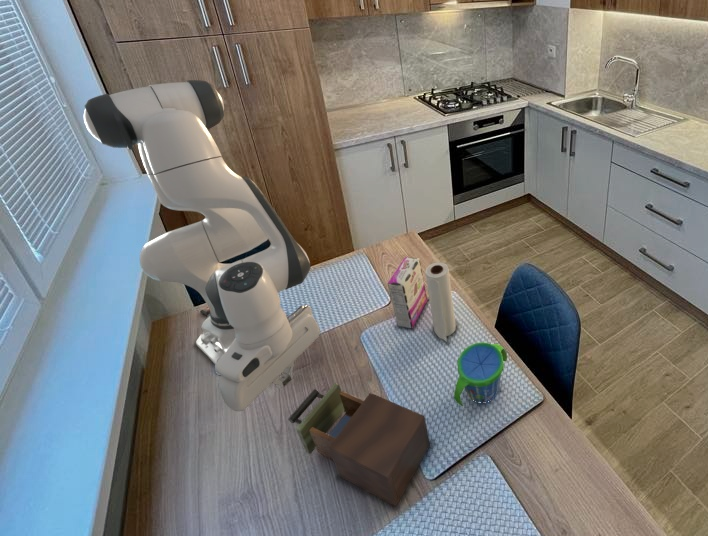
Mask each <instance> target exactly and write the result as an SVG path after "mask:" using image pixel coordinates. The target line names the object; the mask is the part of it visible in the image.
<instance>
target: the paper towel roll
mask: <svg viewBox="0 0 708 536" xmlns="http://www.w3.org/2000/svg"><path fill="white" fill-rule="evenodd" d="M424 274H425V280H426V281H425V282H426V286H427V293H428V300H429V305H430V312H431V319H432V323H433V324H432V326H433V330H434V331H433V332H434V333H435V334H436V336H437V337H438V338H439V339H441V340H443V341H444V342H446V343H448V338H447V337H449V336H450V335H451V336H452V334H453V333H454V332H455V331H456V329H457V325H456V324H457V323H456V317H455V310H454V309H455V308H454V301H453V293H452V285H451V284H452V283H451V277H450V270H449V266H448V265H447V263H445V262H441V261H437V262H433V263H430V264H429V265H428V266H426V268H425V270H424Z"/></svg>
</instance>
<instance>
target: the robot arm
mask: <svg viewBox="0 0 708 536" xmlns="http://www.w3.org/2000/svg"><path fill="white" fill-rule="evenodd" d="M224 104H225V103H224V100H223V98H222V96H221V94H220V93H219V91H217V89H216V88H215V87H214V85H213V84H211V83H210V82H208V81H207V80H199V79H188V80H187V81H177V82H174V81H173V82H164V83H162V82H161V83H155V84H149V85H148V86H142V87H141V86H140V87H137V88H131V89H126V90H122V91H119V92H115V93H111V94H108V93H105V94H100V95H97V96H94V97H92V98H90V99H88V100H87V101H86V103H85V104H84V113H83V121H84V124H85V127H86V129H87V131H88V132H89V133H90V135H92V137H93V138H95V139H96V140H98V141H99V142H100V143H101V144H102V145H103V146H106V147H110V148H117V149H127V150H130V151H134V148H133V146H134V145H137V146H138V151H139V155H140V158H141V161H142V165H143V167H144V169H145V172H146V174H147V177H148V178H149V182H150V183H151V186H152V188H153V190H154V192H155V194H156V197H157V199H158V202H159V203H160V204H161V205H162V207H165V208H167V209H169V210H173V211H179V212H196V213H199V214H201V215H202V216H204V219H202V220H200V221H197V222H194V223H191V224H188V225H185V226H182V227H178V228H175V229H173V230H169V231H166V232H165V233H163V234H161V235H159V236H157V237H155V238H153V239H151V240H150V241H148V242H146V243H145V244H144V245H143V247H142V248H141V251H140V253H139V265H140V268H141V270H142V272H143V273H144V274H145V275H146V276H148V277H149V278H151V279H153V280H155V281H158V282H165V283H166V282H167V283H177V284H181V285H185V286H187V287H190V288H192V289H193V290H195V291H196V292H198V293H199V295H200V296H201V297H202V299H203V300H204V302H205V303H206V305H207V307H206V309H207V310H204V309H201V310H200V311H199V313H200V314H202V315H203V316H206V317H207V318H206V319H205V320H204V321H203V322H202V324H201V331H202V333H201V334H200V335H199V337H198V338H197V339H196V341H195V345H196V346H197V347H198V348H199V350H200V351H202V352H203V353H204V355H206V357H207V358H208V359H209V360H210V361H211V362H212V363H213V364H214V371H215V372H216V373H218V374H219V375H220V377H219V379H218V388H219V392H220V395H221V398H222V401H223V402H224V404H225V406H226V407H227V408H229V409H230V410H232V411H234V412H243V411H245V410H246V409H247V408H248V407H249V406H250V405H251V404H252V403H253V402H254V401H255V400H256V399H257V398H258V397H259V396H260V395H261V394H262V393H263V392H264V391H265V390H266V389H267V388H268V387H269V386H270V385H271V384H273V385H275V387H276V388H277V389H279V390H284V388H285V387H286V386H287V385H288V384H289V383H290V382H291V381H292V380H293V379H294V376H293V370H294V366H295V361H296V359H298V358H299V357H300V356H301V355H302V354H303V353H304V352H305V351H306V350H307V349H308V348H309V347H310V346H311V345H312V344H313V343H314V342H315V341H316V340H317V339H318V338H319V337H320V334H321V328H320V325H319V324H318V322H317V320H316V318H315V317H314V316H313V309H312V307H311V306H310V305H308V304H304V305H300V306H299V307H298V308H297V309H295V310H294V311H293V312H292V313H290V315H287V314H286V311H285V309H283V308H282V306H281V297H280V294H279V293H280V292H283V291H284V290H286V291H287V290H289V289H291V288H294V287H296V286H299V285H301V284H303V283H304V281H305V280H306V279H307V276H308V275H309V272H310V271H311V267H312V266H311V262H310V258H309V256H308V254H307V252H306V251H305V249H304V248H303V247H302V246H301V245H300V244H299V243H298V242H297V240H296V239H295V238H294V237H293V235H292V234H291V232H290V231H289V230H288V228H287V226H286V224H285V223H284V221H283V220H282V219H281V217H280V216H279V214H278V213H277V211H276V210H275V208H274V207H273V205H272V204H271V203H270V201H269V200H268V198H267V197H266V195H265V194H264V193H263V191H262V190H261V189H260V188H259V186H258V185H257V183H255V182H254V181H253V180H252V179H251V178H249V176H242V175H239V174H237V173H236V172H234V171H233V170H232V169H231V168H230V167H229V166H228V165H227V163H226V162H225V160H224V158H223V156H222V153H221V151H220V149H219V147H218V145H217V143H216V141H215V139H214V137H213V136H212V134H211V133H210V129H212V128H214V127H215V126H217V125H219V124H220V123H221V122H222V120H223V118H224V117H225V105H224ZM267 241H269V242H270V244H269V247H267V248H265V249H264V250H263V249H262V251H259V252H256V253H254V254H252V255H249V256H247V257H245V258H242V259H239V260H236V261H234V262H232V263H222V262H225V261H228V260H230V259H232V258H235V257H237V256H240V255H242V254H245V253H248V252H250V251H252V250H253V249H255V248H257V247H259V246H260V245H262V244H263V243H266V242H267Z"/></svg>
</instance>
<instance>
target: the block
mask: <svg viewBox="0 0 708 536" xmlns="http://www.w3.org/2000/svg"><path fill="white" fill-rule="evenodd" d="M341 418H342V419H341ZM341 418H340V419H341V420H340V419H339V421H338V422H337V423H338V424H337V423H336V424H337V425H336V424H335V426H334V427H333V428H334V429H332V430H331V431H330V432H329V433H330V434H328V435H329V436H331V437H333V438H336V437H337V436H338V434H339V433H340V432H341V430H342V429H343V428H344V426H345V425H346V424H347V422H348V421H349V420H350V419H351V417H349V416H347V415H344V414H343V415H342V417H341Z"/></svg>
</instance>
